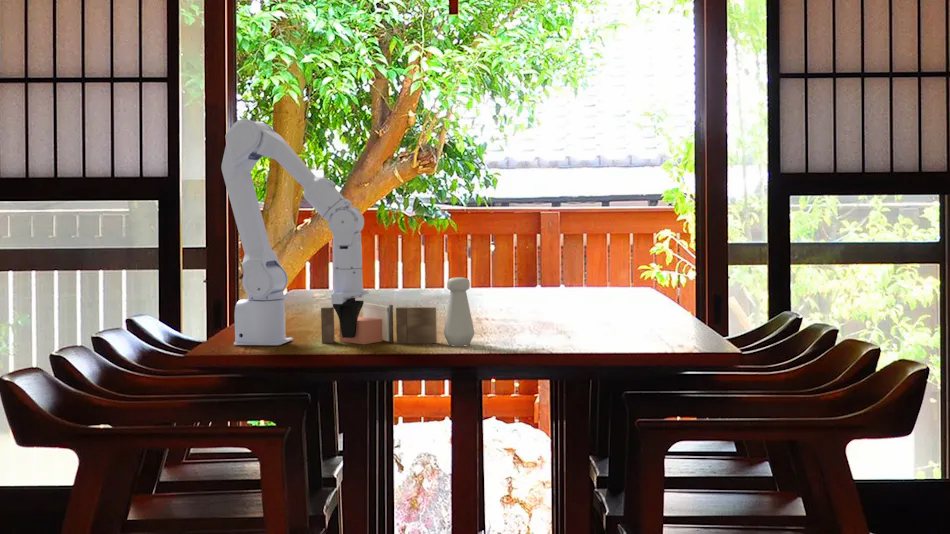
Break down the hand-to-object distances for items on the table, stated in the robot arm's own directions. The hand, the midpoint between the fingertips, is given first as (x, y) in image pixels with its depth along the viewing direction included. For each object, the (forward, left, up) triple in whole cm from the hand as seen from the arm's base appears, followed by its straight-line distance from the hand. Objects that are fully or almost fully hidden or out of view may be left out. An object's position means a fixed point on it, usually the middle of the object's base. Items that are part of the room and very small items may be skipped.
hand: (349, 337), depth 185 cm
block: (+2, +3, -1) cm, 4 cm away
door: (+4, +6, -1) cm, 8 cm away
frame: (+6, +2, -1) cm, 6 cm away
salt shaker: (+22, 0, -2) cm, 22 cm away
